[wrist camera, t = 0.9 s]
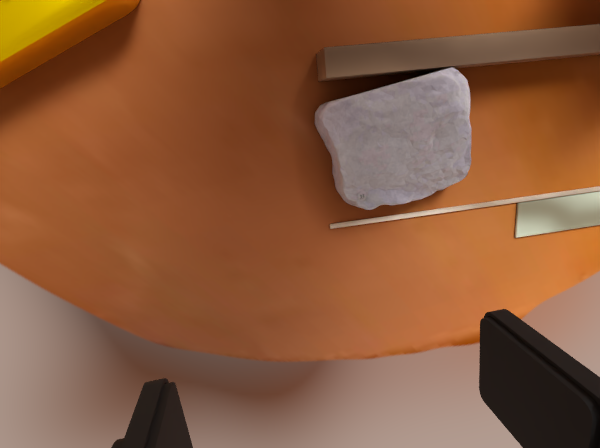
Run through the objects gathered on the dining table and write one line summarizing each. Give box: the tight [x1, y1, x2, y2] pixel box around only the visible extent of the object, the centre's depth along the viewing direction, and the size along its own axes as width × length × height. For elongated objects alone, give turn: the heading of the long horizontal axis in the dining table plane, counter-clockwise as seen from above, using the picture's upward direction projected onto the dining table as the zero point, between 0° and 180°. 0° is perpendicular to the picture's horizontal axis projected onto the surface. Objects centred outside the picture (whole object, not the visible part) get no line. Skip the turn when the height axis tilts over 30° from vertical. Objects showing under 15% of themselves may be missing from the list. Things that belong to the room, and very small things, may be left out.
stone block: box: [315, 67, 471, 210], centre depth 31 cm, size 12×5×10 cm
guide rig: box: [316, 24, 600, 238], centre depth 32 cm, size 18×30×3 cm, turn 96°
